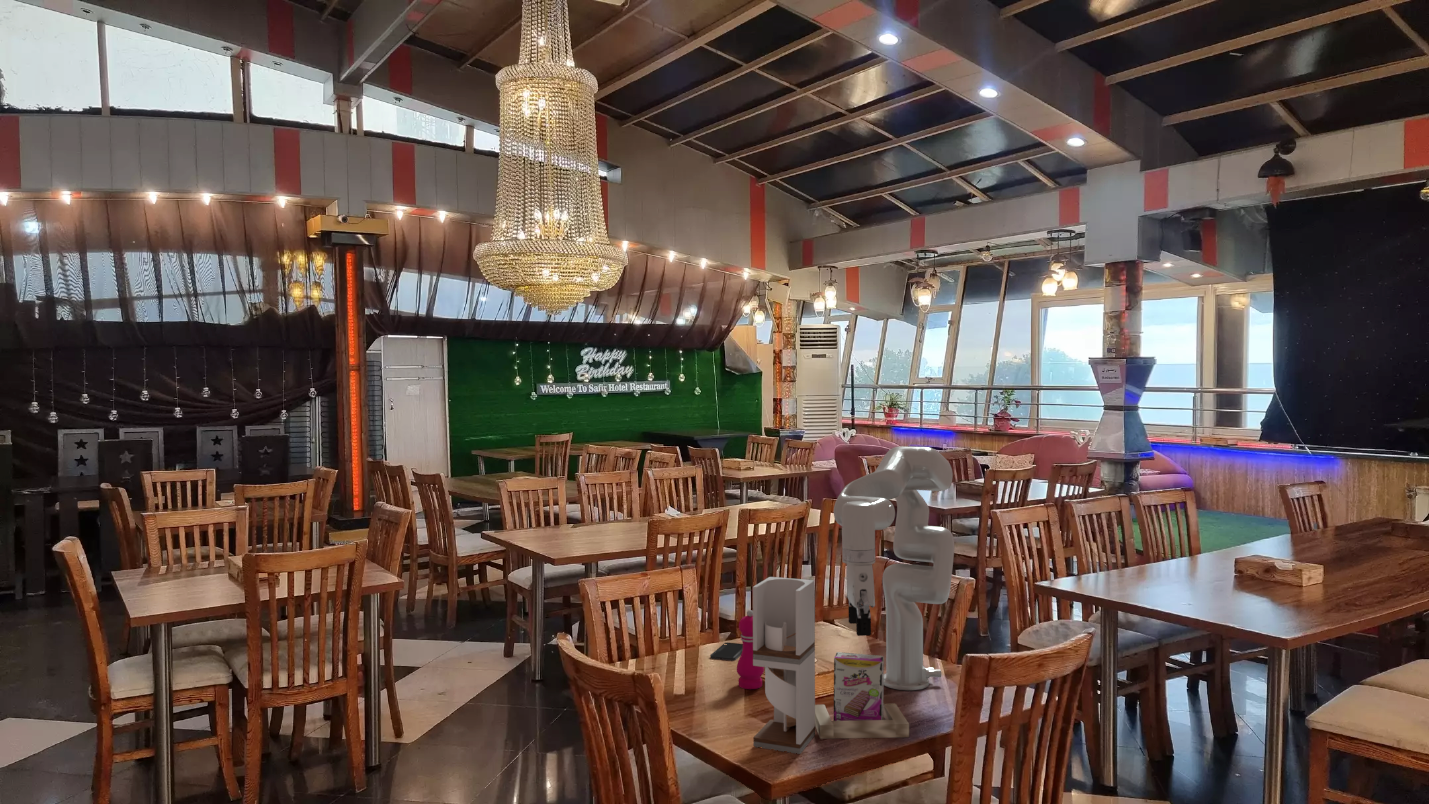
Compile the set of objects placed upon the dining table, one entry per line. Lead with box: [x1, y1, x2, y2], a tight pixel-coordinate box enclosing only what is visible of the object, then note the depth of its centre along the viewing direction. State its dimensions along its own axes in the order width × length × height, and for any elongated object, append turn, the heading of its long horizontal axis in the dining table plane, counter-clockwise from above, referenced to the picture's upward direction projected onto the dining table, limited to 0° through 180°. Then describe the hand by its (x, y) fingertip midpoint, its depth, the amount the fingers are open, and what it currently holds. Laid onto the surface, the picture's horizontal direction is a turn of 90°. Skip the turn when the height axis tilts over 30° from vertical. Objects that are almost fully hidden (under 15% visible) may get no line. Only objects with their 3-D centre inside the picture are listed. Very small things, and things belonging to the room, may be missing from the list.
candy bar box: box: [833, 651, 885, 721], centre depth 205 cm, size 11×5×16 cm, turn 75°
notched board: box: [815, 703, 910, 740], centre depth 205 cm, size 20×13×3 cm, turn 92°
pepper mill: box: [736, 609, 765, 690], centre depth 234 cm, size 7×7×20 cm
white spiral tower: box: [752, 576, 816, 755], centre depth 197 cm, size 11×11×35 cm
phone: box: [709, 642, 743, 662], centre depth 264 cm, size 8×1×15 cm
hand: (859, 628), depth 205 cm, fingers open, 9 cm apart
